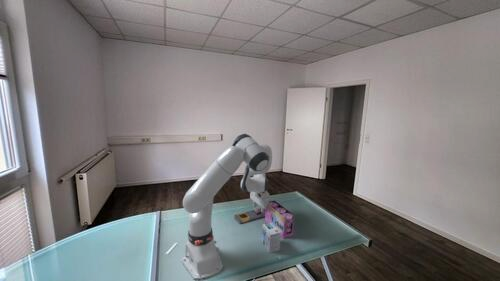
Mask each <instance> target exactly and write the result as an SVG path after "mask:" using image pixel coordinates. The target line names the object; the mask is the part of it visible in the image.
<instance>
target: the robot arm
mask: <svg viewBox="0 0 500 281" xmlns="http://www.w3.org/2000/svg"><path fill="white" fill-rule="evenodd" d="M272 151H273V150H272V148H271V147H270V146H269V145H268V144H266V143H258V142H257V141H256V140H255V139H254V138H252V136H251V135H250V134H247V133H242V134H240V135H238V136H237V137H236V138H235V139H234V141H233V143H232V145H231V146H229V147H228V148H227V149H225V150H223V152H222V153H220V155H219V156H218V157H217V158H216V159H215V160H214V161H213V162H212V163H211V165H209V167H208V168H207V169H206V170H205V171H204V172H203V173H202V175H200V176H199V178H198V179H197V180H196V181H195V182H194V183H193V185H192V186H191V187H190V188H189V189H188V190H187V191H186V192H185V195H184V196H183V199H182V206H183V209H184V210H185V211H186V212H187V213H189V215H188V231H187V232H188V233H187V239H188V240H187V241H186V242H185V246H184V256H183V257H182V258H181V263H182V264H183V266H184V268H185V269H186V270H187V272H188V274H191V275H190V276H191V278H192V279H193V278H194V279H200V280H204V279H203V278H205V279H207V278H210V277H213V276H215V275H217V274H218V273H219V272H221V271H222V270H223V263H222V259H221V256H220V247H219V246H216V244H217V241H216V240H215V238H214V237H215V236H214V234H213V228H212V212H213V205H214V199H215V198H214V197H215V196H216V194H218V193H219V191H220V190H221V189H222V188H223V187H224V185H225V184H226V183H227V182H228V181H229V180H230V178H231V177H232V176H233V175H234V174H235V173H236V172H237V170H239V168H240V166H241V165H242V163H243V162H244V163H245V164H246V166H245V169H244V172H243V175H242V177H241V180H240V189H241V191H242V192H244V193H249V197H250V198H249V199H250V200H252V203H253V208H254V207H256V206H259V207H261V208H262V209H261V212H262V213H263V212H265V209H266V208H268V204H269V201H270V198H269V197H270V193H269V192H268V191H267V190H269V179H268V178H267V177H266V173H267V172H268V171H270V170H271V167H272V163H273V162H272V161H273V152H272ZM194 279H193V280H194Z"/></svg>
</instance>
